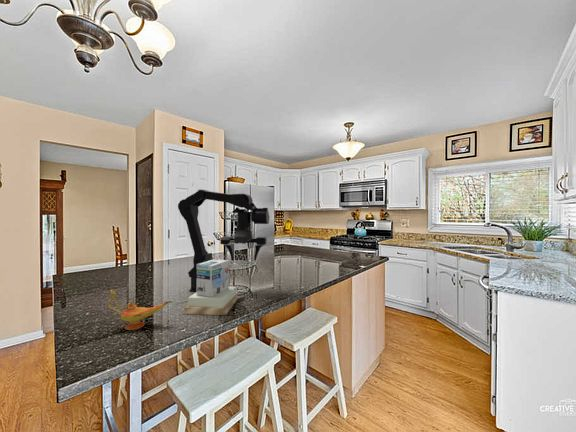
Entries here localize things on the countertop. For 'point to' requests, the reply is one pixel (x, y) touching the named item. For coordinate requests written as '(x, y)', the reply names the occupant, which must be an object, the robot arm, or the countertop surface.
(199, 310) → the oak base block
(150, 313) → the magic lamp
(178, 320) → the countertop surface
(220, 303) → the sage top block
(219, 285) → the light bulb box
